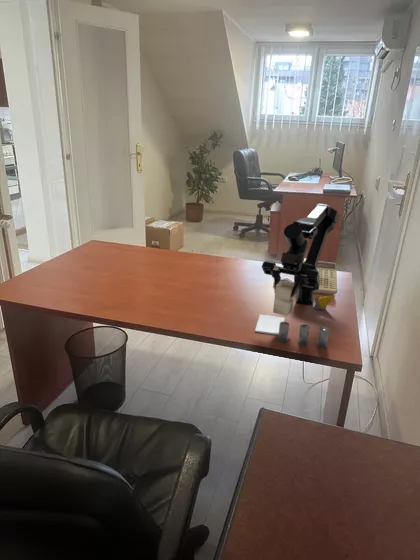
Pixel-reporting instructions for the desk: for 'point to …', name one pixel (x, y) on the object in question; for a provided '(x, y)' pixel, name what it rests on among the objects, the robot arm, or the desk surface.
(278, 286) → the birch block
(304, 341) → the cylinder
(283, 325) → the steel spacer
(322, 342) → the block
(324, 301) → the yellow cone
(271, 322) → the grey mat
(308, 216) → the robot arm
